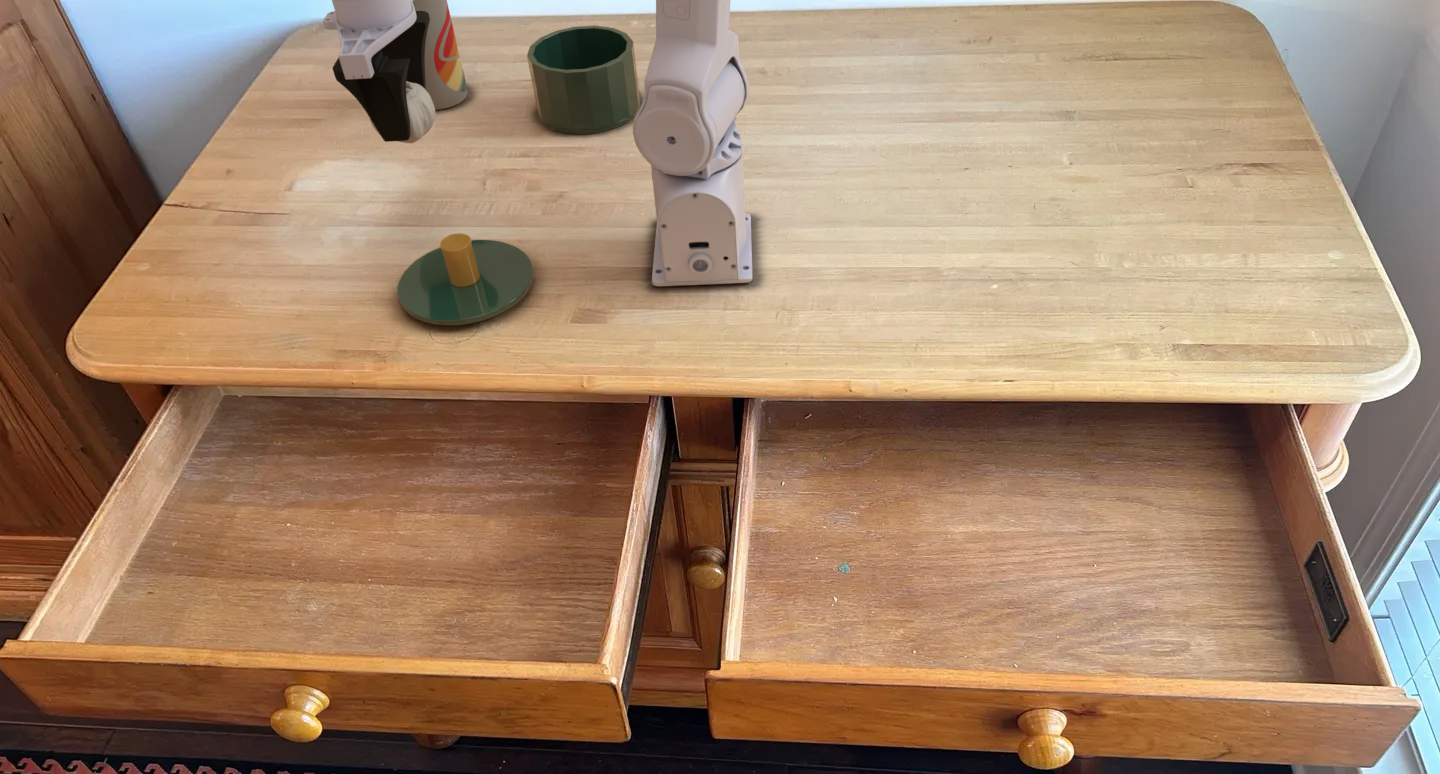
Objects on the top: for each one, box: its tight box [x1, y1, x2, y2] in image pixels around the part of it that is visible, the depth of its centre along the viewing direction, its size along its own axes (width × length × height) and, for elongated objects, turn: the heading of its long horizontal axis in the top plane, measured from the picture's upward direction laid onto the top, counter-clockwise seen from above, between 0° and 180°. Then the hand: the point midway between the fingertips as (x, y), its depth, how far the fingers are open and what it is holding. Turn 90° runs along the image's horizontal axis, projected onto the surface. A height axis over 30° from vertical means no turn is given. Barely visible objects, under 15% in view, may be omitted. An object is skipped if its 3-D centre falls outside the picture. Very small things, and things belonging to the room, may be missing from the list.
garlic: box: [368, 81, 437, 144], centre depth 88 cm, size 6×5×5 cm
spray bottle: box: [412, 0, 468, 111], centre depth 103 cm, size 6×6×20 cm
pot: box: [526, 25, 641, 135], centre depth 104 cm, size 10×10×6 cm
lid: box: [396, 232, 535, 326], centre depth 84 cm, size 11×11×5 cm
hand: (405, 120), depth 88 cm, fingers closed on garlic, 5 cm apart
